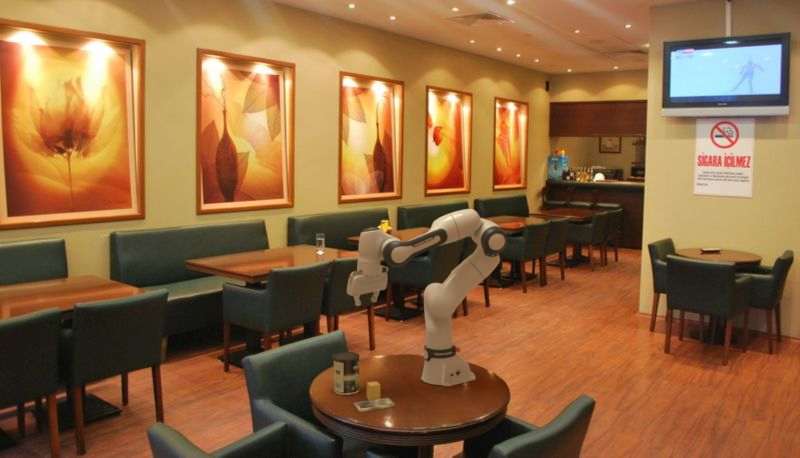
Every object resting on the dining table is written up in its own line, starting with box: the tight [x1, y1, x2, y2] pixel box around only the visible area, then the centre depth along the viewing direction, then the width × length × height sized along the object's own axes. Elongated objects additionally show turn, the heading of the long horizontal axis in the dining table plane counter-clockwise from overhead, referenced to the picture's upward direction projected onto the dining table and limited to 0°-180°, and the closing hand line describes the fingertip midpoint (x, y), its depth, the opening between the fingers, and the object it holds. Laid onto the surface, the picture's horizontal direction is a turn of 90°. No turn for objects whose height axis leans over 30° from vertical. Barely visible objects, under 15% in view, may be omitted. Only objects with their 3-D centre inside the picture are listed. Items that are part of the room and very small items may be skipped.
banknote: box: [352, 397, 396, 413], centre depth 242 cm, size 14×7×1 cm, turn 112°
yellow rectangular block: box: [366, 380, 381, 401], centre depth 248 cm, size 4×4×6 cm
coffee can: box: [332, 351, 360, 396], centre depth 256 cm, size 10×10×14 cm
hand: (366, 303), depth 255 cm, fingers open, 8 cm apart
